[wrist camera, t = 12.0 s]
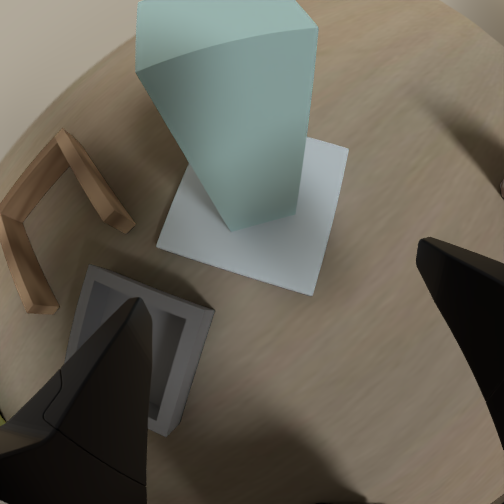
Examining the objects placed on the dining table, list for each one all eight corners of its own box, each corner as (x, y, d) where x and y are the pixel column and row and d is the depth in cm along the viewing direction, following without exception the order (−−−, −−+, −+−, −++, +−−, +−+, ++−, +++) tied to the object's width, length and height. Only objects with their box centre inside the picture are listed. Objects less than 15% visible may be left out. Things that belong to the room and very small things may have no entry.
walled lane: (136, 224, 19) (114, 210, 16) (53, 314, 18) (27, 313, 15) (81, 144, 21) (62, 127, 18) (14, 223, 20) (-7, 214, 17)
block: (295, 214, 17) (318, 27, 5) (230, 232, 18) (135, 72, 5) (276, 158, 18) (265, -30, 6) (216, 174, 18) (137, 2, 6)
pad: (311, 296, 17) (312, 295, 16) (159, 248, 18) (155, 246, 18) (347, 153, 19) (348, 148, 18) (212, 121, 20) (210, 117, 19)
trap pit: (179, 423, 16) (166, 437, 14) (83, 372, 17) (62, 377, 15) (215, 310, 17) (204, 310, 15) (109, 269, 18) (89, 264, 16)
